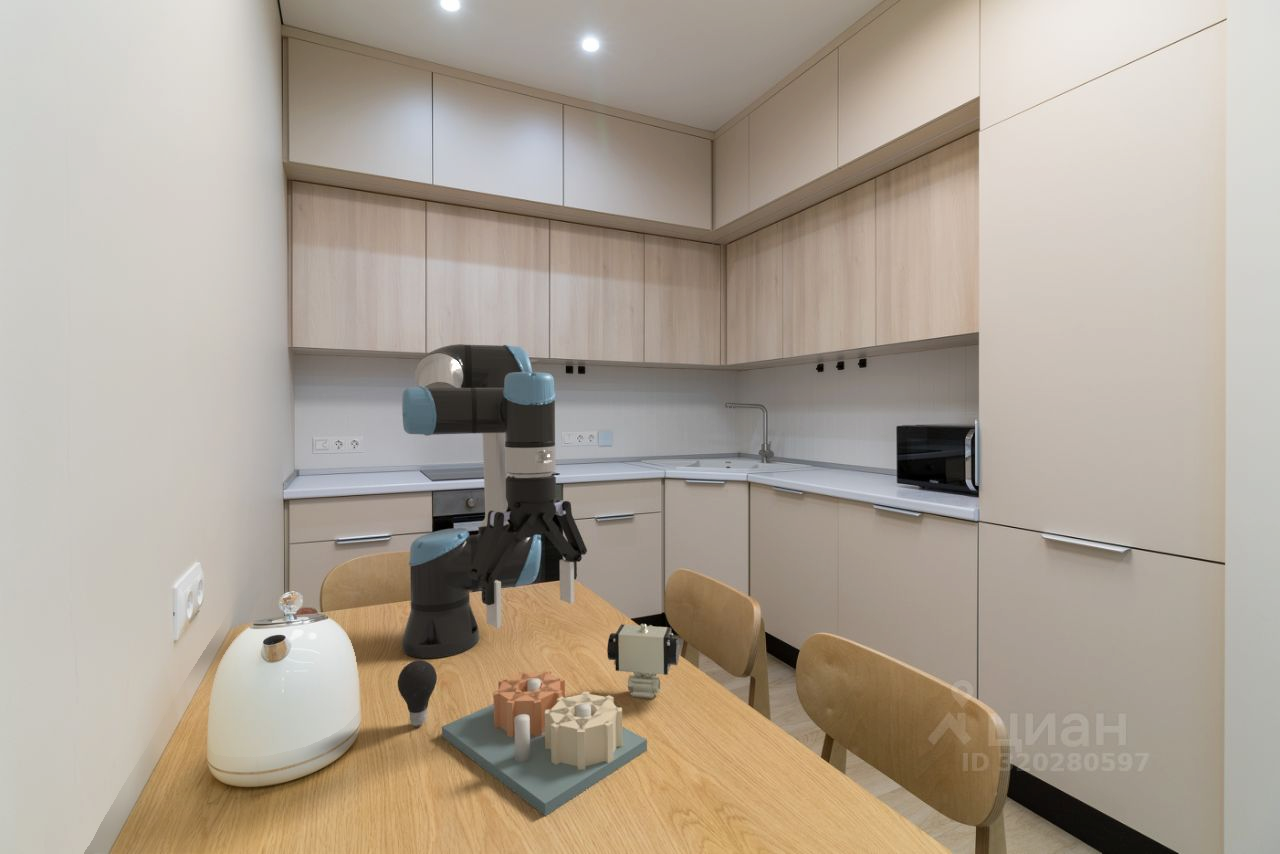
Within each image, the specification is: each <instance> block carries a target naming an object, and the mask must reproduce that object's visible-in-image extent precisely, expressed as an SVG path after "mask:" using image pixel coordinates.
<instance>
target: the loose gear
mask: <svg viewBox="0 0 1280 854" xmlns="http://www.w3.org/2000/svg"><path fill="white" fill-rule="evenodd" d="M518 673H519V674H517V675H513V676H511V677H508V678H506V679H505V678H501V679H500V680H499V681H498V690H495V691H493V693H492V694H493V704H494V726H495V728H497V727H501V728H502V729H504V730H505V731H507V736H508V737H514V736H515V723H514V718H515V717H516V716H518V715H520V714H527V715H529V717H530V735H534V736H535V737H538V736H542V732H544V731H545V710H551V709H552V708H553V707H554V706H555V705H556V704H557V699H558V698H560V697H564V698H565V697H566V693H565V692H566V690H565V688H566V682H565V679H564V677H561V678H558V676H555V675H553V674H552V672H551V671H549V670H544V671H541V672H537V671H536V672H527V671H526V670H523V671H519V672H518ZM532 678H538V679H540V680H541V688H540V689H537V690H535V691H533V692H528V691H527V681H528V680H529V679H532Z"/></svg>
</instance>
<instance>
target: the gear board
mask: <svg viewBox="0 0 1280 854" xmlns="http://www.w3.org/2000/svg"><path fill="white" fill-rule="evenodd" d="M540 688H541V680H540V679H538V678H532V679H529V680H528V681H527V691H528V692H533V691H535V690H537V689H540ZM614 698H615V697H613V696H612V695H606V696H602V695H597V694H591V693H590V691H582V693H581V694H578V695H573V696H568V697H566V696H565V698H564V697H560V698H558V699H557V704H556V705H555V706H554V707H553V708H552V709H551V710H545V731H544V732H542V736H538V737H535V736H534V735H530V717H529V715H527V714H520V715H518V716H516V717H515V718H514V723H515V736H514V737H508V736H507V731H505V730H504V729H502V728H501V727H497V728H495V726H494V703H493V704H489V705H488V706H486V707H484V708H481V709H479V710H477V711H474V712H472V713H470V714H467V715H465V716H463V717H462V718H458V719H456V720H453V721H452V722H450V723H447V724H445V725H443V726H441V736H442V738H443V739H445V740H446V741H447V742H449V743H450V744H451V745H453V747H455V748H456V749H458V750H459V751H461V752H462V753H463V754H464V755H466V756H467V757H468V758H469V759H471V760H472V761H474V763H476V764H477V765H478V766H480V767H481V768H482V769H484V770H485V771H486V772H488V773H489V774H490V775H492V776H493V777H494V778H495V779H496V780H498V781H499V782H501V783H502V784H503V785H504V786H505V787H507V788H509V790H510V791H512V792H513V793H515V794H516V795H517V796H519V798H522V799H523V800H524V801H525V802H526V803H528V804H529V805H530V806H531V807H533V808H534V809H536V810H537V811H538V812H540V813H541V814H542V815H544V816H548V815H549V814H551V813H552V812H554V811H556V810H557V809H559V808H560V807H562V806H564V804H566V803H568V802H569V801H571V800H572V799H574V798H575V797H577V796H578V795H580V794H582V793H584V792H585V791H586V790H587V789H590V787H593V786H594V785H595V784H598V783H599V782H600V781H601V780H604V779H605V778H606V777H607V776H610V775H611V774H612V773H614V772H616V771H617V770H619V769H620V768H622V767H623V766H624V765H626V764H628V763H629V762H630V761H632V760H633V759H636V758H637V757H639V756H640V755H642V754H643V753H645V752H646V751H647V750H648V739H646V738H645V737H643V736H641V735H639V734H637V733H635V732H633V731H631V730H630V729H628V728H626V727H623V708H622V707H618V706H616V704H615V703H614V700H615V699H614Z"/></svg>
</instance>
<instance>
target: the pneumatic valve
mask: <svg viewBox="0 0 1280 854" xmlns="http://www.w3.org/2000/svg"><path fill="white" fill-rule="evenodd" d="M606 652H607V654H606V655H607V659H608V660H609V661H613V666H614V665H615V666H614V667H615V672H617V671H618V672H629V673H633V674H631V675H629V676H628V678H627V689H628V691H630V695H631V696H632V697H633V698H639V699H654V698H655V694H658V693H660V691H661V678H660V677H659V676H658V677H657V675H663V676H664V675H666V676H667V675H669V672H670V669H671V666H678V665H679V662H680V661H679V660H680V638H679V637H674V633H673V632H672V627H667V626H653V625H651V624H649V625H647V624H646V623H641V624H640V625H639V624H638V625H637V624H635V625H634V624H624V623H623V624H620V626H619V628H618V629H617V630H616V632H612V633H609V636H608V640H607V649H606Z"/></svg>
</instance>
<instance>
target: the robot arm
mask: <svg viewBox="0 0 1280 854" xmlns="http://www.w3.org/2000/svg"><path fill="white" fill-rule="evenodd" d="M414 373H415V374H414V376H415V377H414V378H415V382H416V385H417V387H408V388H407V387H406V388H405V389H404V390H403V391H402V395H401V396H402V399H401V401H402V402H401V403H402V405H401V407H402V408H401V410H402V411H401V412H402V416H401V417H402V426H403V427H402V428H403V430H404V431H405V433H407V434H408V435H423V436H426V437H427V436H428V437H429V436H432V435H433V436H434V435H462V434H463V435H464V434H465V435H466V434H482V454H483V455H482V456H483V459H482V460H483V461H482V462H483V481H484V482H483V484H484V487H483V488H484V519H483V520H482V521H481V523H479V525H478V533H477V534H471V535H470V532H469V530H468V529H467V528H465V527H464V528H463V527H458V528H455V527H454V528H453V527H452V528H445V529H440V530H436V531H432V532H428V533H426V534H423V535H421V536H419V537H417V538H416V539H414V541H413V542H412V543H411V545H410V549H409V550H410V551H409V553H410V554H409V561H408V566H409V567H410V570H409V571H410V573H409V574H410V576H409V577H410V612H409V615H408V620H407V622H406V625H405V628H404V633H403V635H402V644H401V645H402V652H403V653H404V654H405V655H407V656H410V657H414V658H421V659H435V658H443V657H450V656H452V655H453V656H454V655H457V654H460V653H463V652H465V651H467V650H469V649H471V648H473V647H474V646H475V645H476V644H477V643H478V642H479V639H480V631H479V626H478V623H477V620H476V618H475V617H476V616H475V615H474V612H473V609H472V607H471V603H470V602H471V601H470V592H475V591H481V601H482V603H483V604H484V605H485V607H486V624H488V625H490V626H492V627H494V628H496V629H498V628H501V627H502V626H503V625H502V623H503V621H502V618H503V617H502V589H504V588H505V589H506V588H516V587H521V586H525V585H531V584H532V583H534V582H535V580H536V579H537V577H538V574H539V571H540V565H541V557H542V540H541V539H542V536H543V535H545V536H546V537H547V539H549V541H550V542H551V543H552V545H553V546H554V547H555V548H556V549H557V551H558V552H559V553H560V555H562V557H563V559H559V600H560V601H562V602H565V603H568V604H573V603H575V580H577V576H578V573H577V572H578V571H577V570H578V564H577V562H578V563H580V562H581V561H582V560H583V559H582V558H583V556H584V555H586V554H587V552H588V549H587V547H586V544H585V542H584V540H583V537H582V535H581V533H580V530H579V527H578V526H577V523H576V521H575V519H574V516H573V513H572V504H571V502H570V501H568V500H562V499H557V500H556V501H554V500H555V499H556V497H557V482H556V480H557V477H556V476H555V474H552V473H554V472H555V471H556V465H557V464H556V399H557V393H556V391H555V379H554V376H553V375H552V374H551V373H548V372H538V371H534V372H533V369H532V363H531V360H530V357H529V355H528V353H527V351H526V350H525V349H524V348H523V347H521V346H517V345H516V346H515V345H507V344H503V345H494V344H493V345H489V344H464V343H463V344H462V343H460V344H451V345H446V346H442V347H439V348H436V349H434V350H431V351H430V352H428V353H426V355H424V356H423V357H422V358H421V359H420V360H419V361H418V363H417V365H416V368H415V372H414ZM555 515H556V517H557V520H558V522H559V524H560V526H561V529H562V531H563V533H564V535H563V534H562V532H561V531H560V528H559V526H558V525H557V524H556V523H555V521H554V520H553V518H554V516H555Z"/></svg>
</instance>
